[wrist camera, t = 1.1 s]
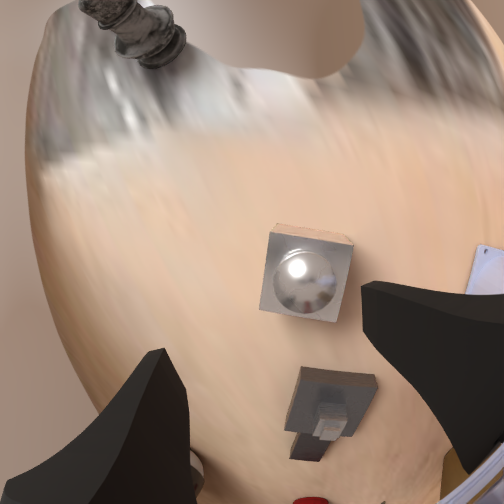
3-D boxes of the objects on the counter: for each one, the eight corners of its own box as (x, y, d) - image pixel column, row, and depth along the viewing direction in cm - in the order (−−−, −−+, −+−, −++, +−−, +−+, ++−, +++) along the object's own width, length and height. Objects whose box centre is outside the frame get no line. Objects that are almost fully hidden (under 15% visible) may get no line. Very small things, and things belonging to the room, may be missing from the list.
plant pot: (418, 485, 24) (429, 557, 9) (426, 442, 22) (451, 539, 7) (492, 449, 21) (517, 511, 5) (514, 396, 19) (558, 467, 3)
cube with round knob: (343, 234, 20) (356, 248, 14) (330, 296, 21) (337, 329, 15) (277, 223, 20) (267, 234, 15) (268, 286, 21) (256, 316, 16)
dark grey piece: (373, 374, 21) (384, 410, 17) (333, 453, 24) (333, 485, 20) (301, 366, 22) (298, 403, 18) (275, 447, 26) (269, 479, 21)
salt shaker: (198, 21, 18) (133, -55, 6) (176, 72, 19) (87, 8, 8) (147, 24, 18) (74, -31, 7) (126, 71, 20) (36, 29, 8)
